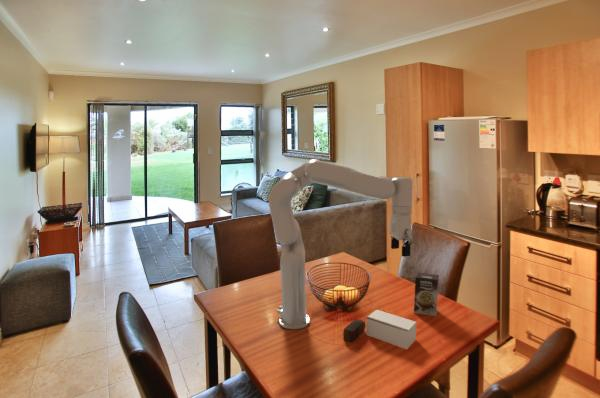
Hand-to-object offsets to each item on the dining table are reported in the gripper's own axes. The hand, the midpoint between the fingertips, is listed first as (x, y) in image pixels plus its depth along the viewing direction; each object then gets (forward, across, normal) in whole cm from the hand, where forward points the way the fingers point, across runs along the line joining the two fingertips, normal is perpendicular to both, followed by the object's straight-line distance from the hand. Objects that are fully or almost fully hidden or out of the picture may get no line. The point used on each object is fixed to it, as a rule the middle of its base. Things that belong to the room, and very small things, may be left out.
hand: (400, 252), depth 142 cm
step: (+29, +11, -8) cm, 32 cm away
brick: (+29, +7, -21) cm, 37 cm away
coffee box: (+29, -5, +14) cm, 33 cm away
